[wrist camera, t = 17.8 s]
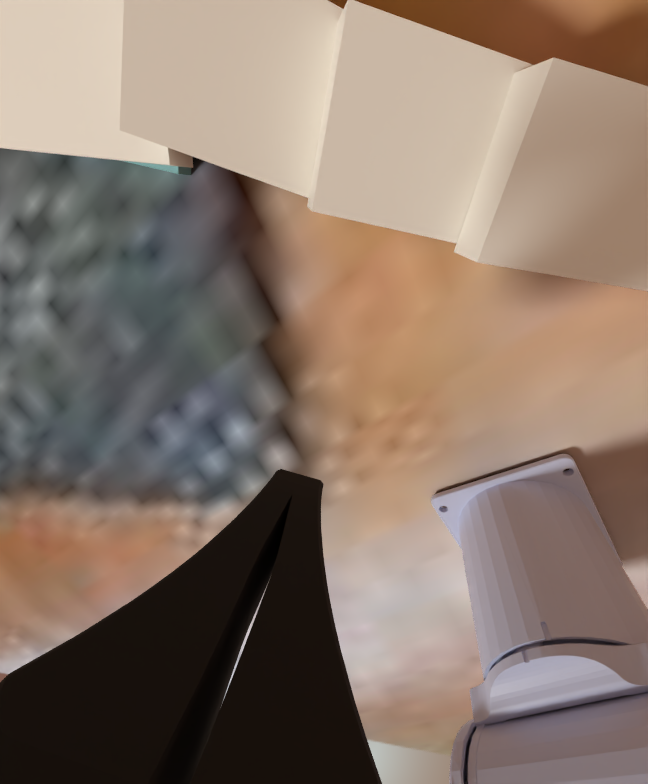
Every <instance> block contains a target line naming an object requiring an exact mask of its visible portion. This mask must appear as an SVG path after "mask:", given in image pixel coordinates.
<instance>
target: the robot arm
mask: <svg viewBox="0 0 648 784" xmlns="http://www.w3.org/2000/svg"><path fill="white" fill-rule="evenodd" d="M567 468H570V469H569V470H568V471H564V470H565V469H567ZM322 489H323V483H322V482H321V480H317V479H314V478H310V477H307V476H303V475H300V474H296V473H293V472H289V471H286V470H282V469H280V470H278V471H276V473H275V474H274V476H273V477H272V478H271V480H270V481H269V482H268V483H267V485H266V486H265V487H264V488H263V489H262V490H261V492H260V493H259V494H258V495H257V496H256V497H255V498H254V499H253V500H252V502H251V503H250V504H249V505H248V506H247V507H246V508H245V509H244V510H243V511H242V512H241V513H240V514H239V515H238V516H237V517H236V518H235V519H234V520H233V521H232V522H231V523H230V524H229V525H227V526H226V527H225V528H224V529H223V530H222V531H221V532H220V533H219V534H218V535H216V536H215V537H214V538H213V539H212V540H211V541H210V542H209V543H208V544H206V545H205V546H204V547H203V548H202V549H201V550H199V551H198V552H197V553H196V554H195V555H193V556H192V557H191V558H190V559H188V560H187V561H186V562H185V563H183V564H182V565H181V566H179V567H178V568H177V569H176V570H174V571H173V572H172V573H170V574H169V575H168V576H166V577H165V578H163V579H162V580H161V581H159V582H158V583H157V584H155V585H154V586H152V587H151V588H150V589H148V590H147V591H145V592H144V593H142V594H141V595H140V596H138V597H137V598H135V599H134V600H132V601H131V602H129V603H128V604H126V605H125V606H123V607H121V608H120V609H118V610H117V611H115V612H114V613H112V614H110V615H109V616H107V617H106V618H104V619H102V620H101V621H99V622H98V623H96V624H95V625H93V626H91V627H90V628H88V629H87V630H85V631H83V632H82V633H80V634H78V635H77V636H75V637H73V638H72V639H70V640H68V641H66V642H65V643H63V644H61V645H59V646H57V647H56V648H54V649H52V650H50V651H49V652H47V653H45V654H43V655H41V656H40V657H38V658H36V659H34V660H33V661H31V662H29V663H27V664H26V665H24V666H22V667H20V668H18V669H17V670H15V671H13V672H11V673H10V674H8V675H7V676H6V677H5V678H4V679H3V680H2V681H1V682H0V784H382V782H381V780H380V777H379V774H378V771H377V768H376V765H375V762H374V759H373V756H372V754H371V751H370V748H369V745H368V742H367V739H366V736H365V732H364V729H363V726H362V723H361V720H360V716H359V713H358V710H357V707H356V704H355V700H354V697H353V693H352V690H351V686H350V682H349V679H348V675H347V671H346V668H345V664H344V660H343V657H342V653H341V649H340V645H339V641H338V636H337V632H336V628H335V623H334V618H333V614H332V609H331V604H330V598H329V593H328V586H327V580H326V573H325V566H324V557H323V547H322V534H321V496H322ZM431 503H432V506H433V507H434V509H435V510H436V512H437V513H438V515H439V516H440V518H441V519H442V521H443V522H444V524H445V525H446V527H447V528H448V530H449V531H450V533H451V534H452V536H453V537H454V539H455V540H456V542H457V543H458V545H459V546H460V548H461V549H462V554H463V559H464V565H465V571H466V577H467V583H468V589H469V595H470V601H471V607H472V613H473V619H474V625H475V631H476V636H477V642H478V648H479V654H480V660H481V666H482V672H483V678H484V682H483V683H482V684H480V685H478V686H476V687H474V688H471V689H470V696H471V704H472V711H473V718H474V719H473V720H469V721H468V722H467V723H466V724H464V725H463V726H462V727H461V729H460V730H459V732H458V733H457V736H456V738H455V741H454V744H453V749H452V754H451V762H450V784H648V609H647V607H646V606H645V604H644V602H643V601H642V599H641V597H640V596H639V594H638V592H637V590H636V589H635V587H634V585H633V584H632V582H631V580H630V579H629V577H628V575H627V574H626V572H625V570H624V569H623V567H622V566H623V565H622V562H621V560H620V558H619V555H618V553H617V551H616V549H615V547H614V545H613V543H612V540H611V538H610V536H609V534H608V532H607V530H606V527H605V525H604V523H603V521H602V519H601V517H600V514H599V512H598V510H597V508H596V506H595V504H594V502H593V499H592V497H591V495H590V493H589V491H588V489H587V486H586V484H585V482H584V480H583V478H582V476H581V474H580V471H579V469H578V467H577V465H576V463H575V461H574V459H573V458H572V457H571V456H570V455H568V454H559V455H556V456H553V457H550V458H547V459H544V460H540V461H537V462H534V463H531V464H528V465H525V466H522V467H518V468H515V469H512V470H509V471H506V472H503V473H500V474H496V475H493V476H490V477H487V478H484V479H481V480H478V481H474V482H471V483H468V484H465V485H462V486H459V487H456V488H452V489H449V490H446V491H443V492H440V493H437V494H434V495H433V496H432V497H431ZM441 506H446V507H441ZM271 574H272V575H271ZM269 579H270V580H269ZM268 581H269V583H268ZM267 584H268V585H267ZM266 586H267V588H266ZM265 588H266V591H265ZM264 591H265V594H264V596H263V599H262V602H261V604H260V607H259V610H258V612H257V615H256V618H255V620H254V623H253V626H252V628H251V631H250V634H249V636H248V639H247V641H246V644H245V647H244V649H243V652H242V654H241V657H240V660H239V662H238V665H237V667H236V670H235V672H234V675H233V678H232V680H231V683H230V685H229V688H228V691H227V693H226V690H227V687H228V684H229V681H230V678H231V675H232V672H233V669H234V666H235V663H236V660H237V657H238V654H239V651H240V649H241V646H242V643H243V641H244V638H245V636H246V633H247V630H248V628H249V626H250V623H251V621H252V619H253V616H254V614H255V612H256V609H257V607H258V605H259V602H260V600H261V598H262V595H263V593H264ZM225 693H226V696H225ZM224 696H225V698H224ZM223 699H224V701H223ZM222 702H223V703H222ZM221 705H222V706H221Z"/></svg>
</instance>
